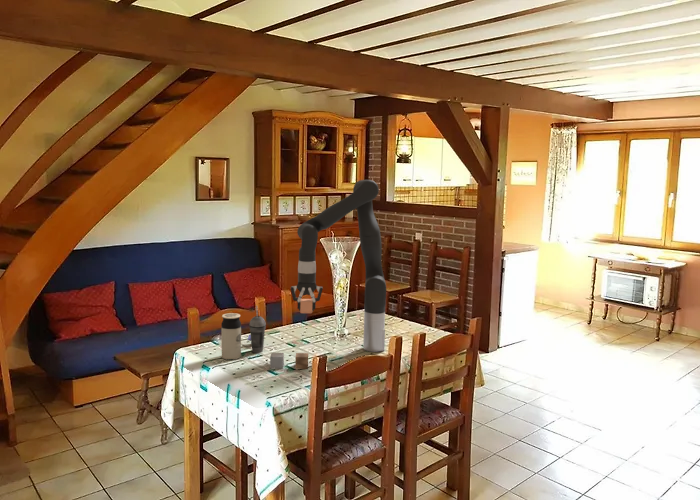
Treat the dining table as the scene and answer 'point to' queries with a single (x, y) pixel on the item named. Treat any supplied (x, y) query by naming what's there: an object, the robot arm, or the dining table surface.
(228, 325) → the travel mug
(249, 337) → the geometric puzzle
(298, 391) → the dining table surface
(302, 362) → the walnut block
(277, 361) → the slate block
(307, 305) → the terracotta block
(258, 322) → the beverage cup
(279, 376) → the dining table surface
